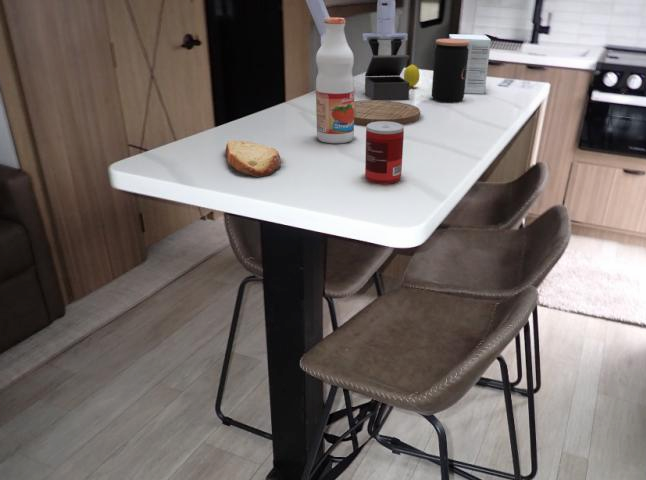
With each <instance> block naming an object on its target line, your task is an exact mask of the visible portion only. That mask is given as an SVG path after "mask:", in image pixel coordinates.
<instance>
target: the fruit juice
mask: <svg viewBox="0 0 646 480" xmlns="http://www.w3.org/2000/svg"><path fill="white" fill-rule="evenodd" d="M324 25H325V27H326V31H325V36H324V40H323V43H322V45H321V44H320V47H319V48H318V50H317V52H316V55H315V64H316V68H317V75H316V79H315V101H316V102H315V106H316V108H315V111H316V113H315V114H316V115H315V116H316V137H317V140H319V141H320V142H322V143H327V144H346V143H349V142H351V141H353V140H354V135H355V124H354V101H355V79H354V75H353V69H354V68H353V67H354V64H355V55H354V53H353V51H352V49H351V47H350V46H349V43H348V41H347V38H346V33H345V27H346V18H344V17H335V16H334V17H333V16H331V17H330V16H329V17H328V18H325V19H324Z"/></svg>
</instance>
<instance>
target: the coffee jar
mask: <svg viewBox="0 0 646 480" xmlns="http://www.w3.org/2000/svg"><path fill="white" fill-rule="evenodd" d="M435 44H436V46H435V49H434V57H433V69H432V71H433V72H432V85H431V97H432V100H434V101H436V102H440V103H447V104H449V103H451V104H453V103H459V102H462V101H463V99H464V98H465V93H464V90H465V81H466V71H467V61H468V51H469V50H468V48H467V46H468V45H469V41H468V40H462V39H449V38H437V39H436V40H435Z"/></svg>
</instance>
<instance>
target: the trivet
mask: <svg viewBox="0 0 646 480" xmlns="http://www.w3.org/2000/svg"><path fill="white" fill-rule="evenodd" d="M420 118H421V110H420V108H419V107H417V106H415V105H412V104H410V103H405V102H402V101H395V100H372V99H365V100H354V125H358V126H365V127H367V124H369V123H372V122H379V121H388V122H396V123H399V124H401V125H403V126H404V125H405V126H407V125H409V124H413V123H414V124H415V122H417V121H419V120H420Z"/></svg>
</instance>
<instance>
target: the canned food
mask: <svg viewBox="0 0 646 480" xmlns="http://www.w3.org/2000/svg"><path fill="white" fill-rule="evenodd" d="M404 131H405V127H404V125H401V124H399V123H396V122H388V121H379V122H372V123H369V124H367V126H365V160H364V161H365V168H364V171H365V172H364V175H365V179H366V180H367V181H368V182H370V183H372V184H378V185H390V184H395V183H397V182H399V181H400V180H401V178H402V170H403V155H404V153H403V151H404V134H405V133H404Z"/></svg>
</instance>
